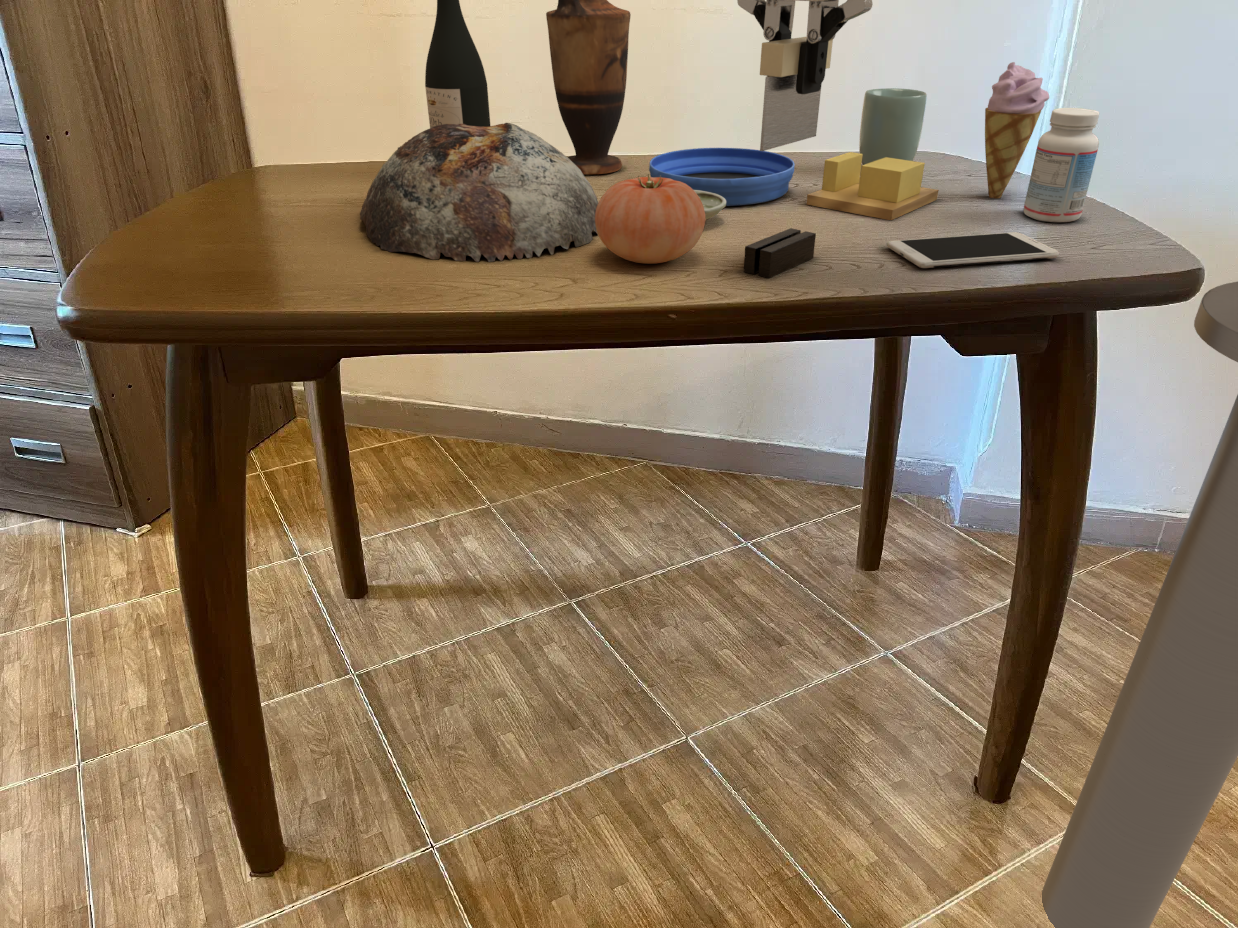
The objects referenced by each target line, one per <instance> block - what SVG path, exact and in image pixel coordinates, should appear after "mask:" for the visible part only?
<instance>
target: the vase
mask: <svg viewBox="0 0 1238 928" xmlns="http://www.w3.org/2000/svg"><path fill="white" fill-rule="evenodd" d="M545 19H546V24H547V34H548V43H549V53H550V55H549V56H550V62H551V63H550V64H551V72H552V80H553V87H554V91H555V97H556V98H555V99H556V102H557V106H558V110H559V114H560V116H561V120H562V121H563V124H564V127H565V129H566V131H567V133H568V137H569V139H570V140H571V143H572V145H573V149H574V152H575V155H570V156H567V157H568V158H569V159H570V160H571V161H572V162H573V163H574V164H575V165H576V166H577V167H578V168H579V169H580V170H581V172H582V173H583V175H584V176H585V175H586V176H587V175H604V174H605V175H606V174H611V173H615V172H618V171H619V170H622V167H623V164H622V160H621V158H620V157H617V156H615V155H611V154H609V151H610V149H611V146H612V143H613V139H614V137H615V135H616V132H617V130H618V127H619V123H620V121H621V118H622V114H623V111H624V102H625V96H626V89H627V79H628V78H627V76H628V56H629V34H630V23H631V11H629V10H627V9H624V8H620V7H617V6H616V5H614V4H613V3H611V2H610V1H609V0H557V6H556V9H553V10H549V11H546V12H545Z"/></svg>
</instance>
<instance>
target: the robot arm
mask: <svg viewBox="0 0 1238 928" xmlns="http://www.w3.org/2000/svg"><path fill="white" fill-rule="evenodd" d="M736 1H737V5H738V6H739V7H740V8H741V9H743V10H744V11H746V12H747V13H749V14H750V15H751V16H754V18H755V20H756V21H757V22H758V24H759V26H760V27H761V29H762V31H763V37H764V39H765V40H766V41H767V42H771V41H778V40H786V39H793V38H794V37H793V38H792V33H793V27H794V18H795V8H796V1H797V2H799V1H800V2H808V11H807V12H808V13H807V27H806V37H807V40H806V43H801V46H800V54H799V65H798V74H797V81H796V92H797V93H798V94H808V93H813V92H817V91H820V89H821V90H822V85H823V83H824V80H825V77H826V61H827V51H828V42H829V41H831V40H833V41H834V39H835V38H836V34H837V33H838V32H839V31H840V30H841V29H842V28H843V27H844V26H846V24H847V23H848V22H849V21H850V20H853V19H856V18H857V17H859V16H862V15H864V14H866V13H868V12H870V11H871V10H872V8H873V6H874V5H873V0H846V1H845V2H844V3H842V4H840V5H839V2H840V0H736ZM821 84H822V85H821Z"/></svg>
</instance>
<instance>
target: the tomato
mask: <svg viewBox="0 0 1238 928" xmlns="http://www.w3.org/2000/svg"><path fill="white" fill-rule="evenodd" d="M595 225H596V230H597V233H598V235H597V236H598V238H599V239H600V241H601V243H602V244H603V245H604V246H605V248H607V249H608V250H609V251H610V252H612V254H614V255H616V256H617V257H619V258H621V259H624V260H626V261H629V262H631V263H636V264H643V265H644V264H645V265H646V264H647V265H648V264H649V265H653V264H655V265H656V264H662V263H667V262H671V261H673V260H676V259H679V258H680V257H682V256H683V255H685V254H687V253H688V252H690V251H691V250H692V249H693V248H694V247H695V246H696V244H697V243H698V242H699V240H700V239H701V236H702V235H703V232H704V230H705V229H704V228H705V225H706V220H705V211H704V207H703V204H702V202H701V200H700V198H699V196H698V195H697V194H696V192H695V191H694V190H693V189H692V188H691V187H689V186H688V185H687V184H685V183H683V182H680V181H676V180H673V179H670V178H662V177H661V175H660V177H651V176H650V173H648V174H647V176H639V175H637V177H634V178H628V179H624V180H621V181H618V182H616V183H614V184H613V185H611V186H610V187H609V188H608V189H607V190H606V191H605V192H604V193H603V195H602V196H601V198H600V199H599V200H598V205H597V208H596V213H595ZM597 233H596V234H597Z"/></svg>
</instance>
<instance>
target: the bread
mask: <svg viewBox="0 0 1238 928" xmlns="http://www.w3.org/2000/svg"><path fill="white" fill-rule="evenodd" d="M568 157H569V156H567V155H565V154H564V153H563V151H561V150H559V149H557V148H556V147H555V146H554V145H552V144H550V143H549V142H548V141H546V140H544V139H543V138H542V137H540V136H539V135H537V134H536V133H533V132H531V131H529V130H527V129H524V128H522V127H521V126H519V125H517V124H514V123H512V122H504V123H497V124H495V125H490V126H489V127H478V126H468V125H466V124H443V125H438V126H434V127H432V128H430V127H429V128H427V129H425V130H423V131H421V132H419V133H417V134H416V135H414V136H412V137H411V138H410V139H408V140H407V141H405V142H404V143H403V144H402V145H399V146H398V147H397V149H396V150H394V151H393V153H392V154H391V156H389V158H388V159H387V160H386V161H384V163H383V164H382V166H381V168H380V169H379V170H378V173H376V176H375V177H374V179H373V180H372V182H371V185H370V186H369V188H368V191H367V192H366V193H367V194H366V197H365V198H364V201H363V202H362V206H361V208H360V212H359V219H360V221H361V222H362V223H363V224H364V225H365V229H366V236H367V238H368V239H370V241H371V243H373V244H375V245H376V247H378V246H380V249H381V250H384V251H387V252H390V253H393V252H394V253H395V252H401V253H402V252H403V253H408V254H417V255H421V256H423V257H425V258H427V259H430V260H439V259H440V257H441V253H442V255H444V257H446V258H451V259H453V260H454V261H455V262H457V261H459V262H460V261H461V262H466V261H467V260H466V259H467V258H466V257H467V256H469V257H471V258H472V260H473V261H474V262H477V263H478V262H480V260H481V257H482V256H483V257H484V258H485V259H486V260H487V262H488V263H491V262H495V261H496V258H497V259H498V260H499V261H500V262H503V261H504V258H505V257H507V258H508V259H509V261H512V260H513V257H514V255H515V257H516V259H518V260H523V257H524V255H525V257H526V258H527V259H531V258H533V253H535V255H536V256H537V257H539V258H540V257H541V255H542V252H543V251H544V249H547V250H548V252H549V254H550V255H554V253H555V248H556V247H559V246H561V247H562V248H563V249H564V250H565V249H566V250H568V249H569V248H570V245H571V242H574V247H575V248H578V247H582V246H584V245H587V244H590V243H591V242H592V241H593V240H594V239H593V234H592V233H593V232H595V233H596V234H597V236H598V233H597V230H596V225H595V213H596V208H597V205H598V203H599V200H598V197H597V194H596V192H595V190H594V188H593V186H592V185H591V183H590V181H589V180H588V179H587V178H586V176H585V175H583V173H582V172H581V170H580V169H579V168H578V167H577V166H576V165H575V164H574V163H573V162H572V161H571V160H570V159H569V158H568Z"/></svg>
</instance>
